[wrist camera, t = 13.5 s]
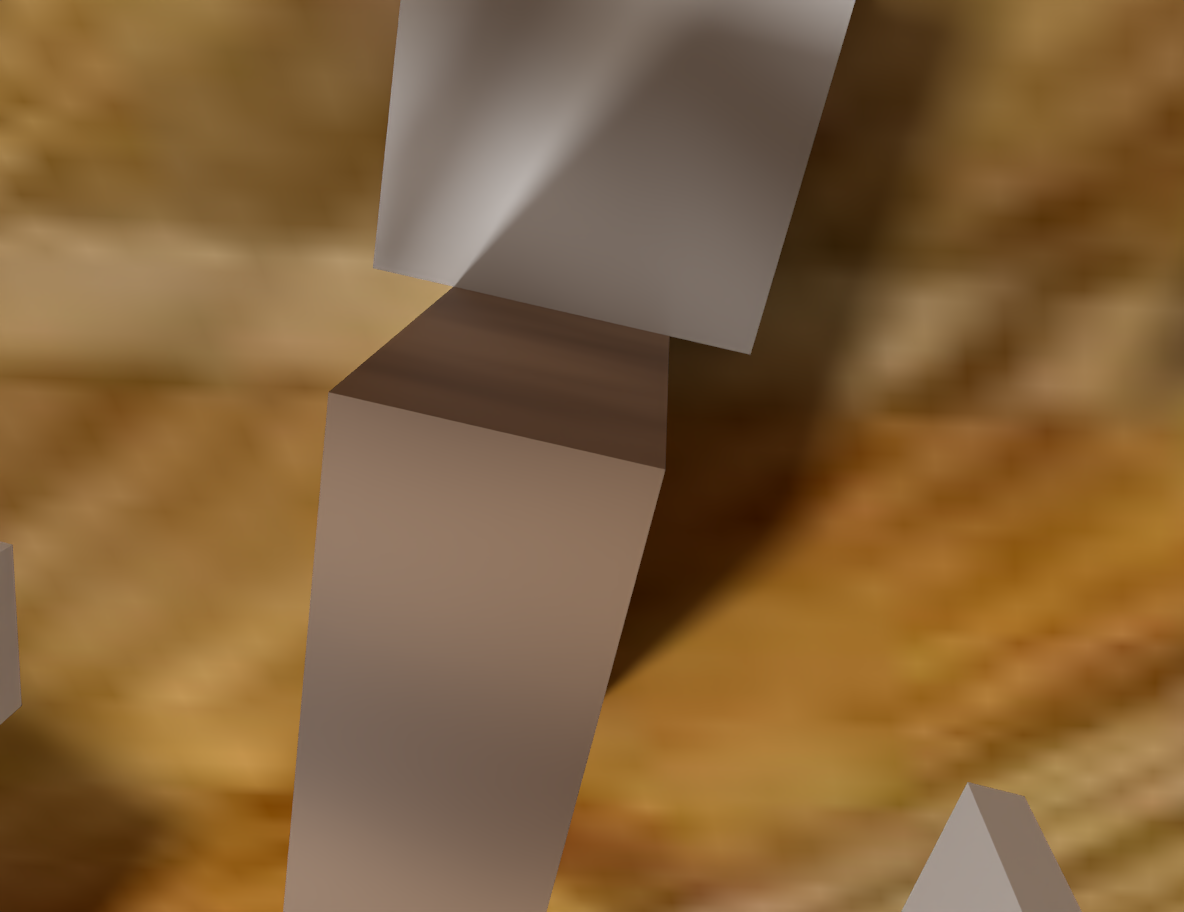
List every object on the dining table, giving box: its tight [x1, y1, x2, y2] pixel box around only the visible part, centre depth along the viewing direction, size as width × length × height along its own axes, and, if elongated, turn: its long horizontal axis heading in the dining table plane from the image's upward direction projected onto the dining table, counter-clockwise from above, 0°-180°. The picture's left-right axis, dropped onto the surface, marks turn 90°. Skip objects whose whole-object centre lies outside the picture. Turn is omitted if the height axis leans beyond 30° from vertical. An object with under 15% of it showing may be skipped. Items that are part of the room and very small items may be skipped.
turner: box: [283, 0, 855, 912], centre depth 13 cm, size 18×7×7 cm, turn 168°
